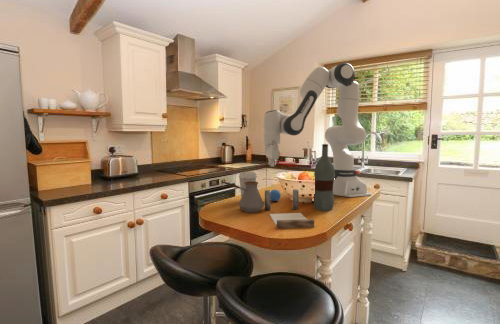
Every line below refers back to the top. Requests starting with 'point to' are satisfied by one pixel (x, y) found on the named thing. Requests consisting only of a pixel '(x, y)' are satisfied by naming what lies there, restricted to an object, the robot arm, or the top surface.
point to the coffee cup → (246, 179)
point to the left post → (267, 200)
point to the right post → (295, 199)
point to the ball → (275, 195)
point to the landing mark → (286, 217)
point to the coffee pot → (249, 197)
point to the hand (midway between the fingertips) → (271, 166)
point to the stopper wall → (295, 223)
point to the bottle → (324, 182)
